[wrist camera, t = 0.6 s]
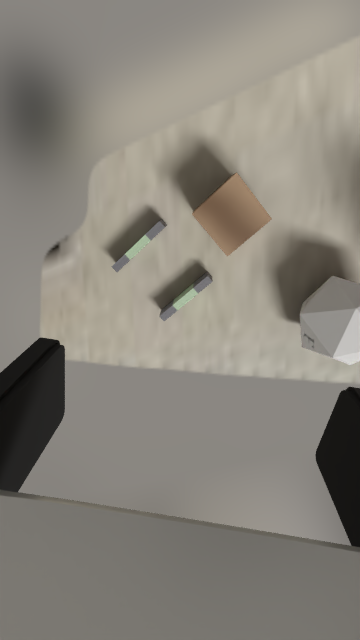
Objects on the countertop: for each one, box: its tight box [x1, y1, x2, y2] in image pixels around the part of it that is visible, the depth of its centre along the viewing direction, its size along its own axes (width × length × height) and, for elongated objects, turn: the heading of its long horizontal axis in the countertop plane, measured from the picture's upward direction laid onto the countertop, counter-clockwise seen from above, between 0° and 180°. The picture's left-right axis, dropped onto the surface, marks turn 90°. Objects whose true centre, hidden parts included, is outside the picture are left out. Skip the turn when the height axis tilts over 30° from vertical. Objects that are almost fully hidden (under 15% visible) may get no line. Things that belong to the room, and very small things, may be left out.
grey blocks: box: [112, 219, 213, 321], centre depth 34 cm, size 7×8×2 cm
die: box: [300, 276, 360, 365], centre depth 32 cm, size 8×9×10 cm
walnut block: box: [192, 173, 272, 256], centre depth 30 cm, size 5×5×5 cm
